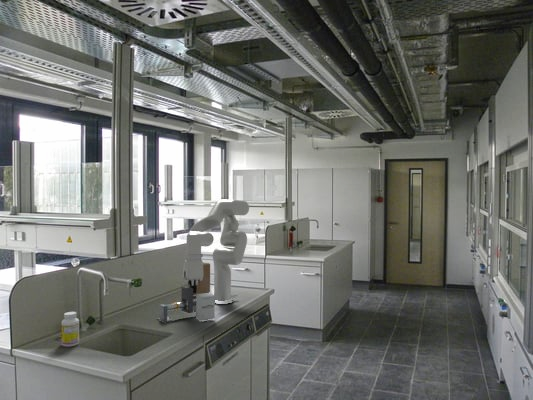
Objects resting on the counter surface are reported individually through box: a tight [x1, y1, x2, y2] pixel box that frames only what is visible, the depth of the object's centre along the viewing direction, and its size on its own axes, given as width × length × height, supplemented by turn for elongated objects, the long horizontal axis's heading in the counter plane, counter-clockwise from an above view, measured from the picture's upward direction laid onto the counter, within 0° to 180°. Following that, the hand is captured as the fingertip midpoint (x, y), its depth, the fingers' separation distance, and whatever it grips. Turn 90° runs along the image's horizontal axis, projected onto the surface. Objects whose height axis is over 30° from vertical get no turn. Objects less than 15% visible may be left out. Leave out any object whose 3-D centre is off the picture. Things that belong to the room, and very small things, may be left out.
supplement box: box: [195, 292, 216, 320], centre depth 216 cm, size 7×7×13 cm
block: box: [187, 261, 211, 295], centre depth 267 cm, size 10×10×20 cm
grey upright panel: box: [180, 285, 194, 313], centre depth 223 cm, size 2×7×12 cm, turn 41°
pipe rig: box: [156, 298, 196, 323], centre depth 220 cm, size 22×8×8 cm, turn 131°
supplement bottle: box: [60, 311, 80, 348], centre depth 179 cm, size 7×7×13 cm
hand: (193, 292), depth 225 cm, fingers closed
